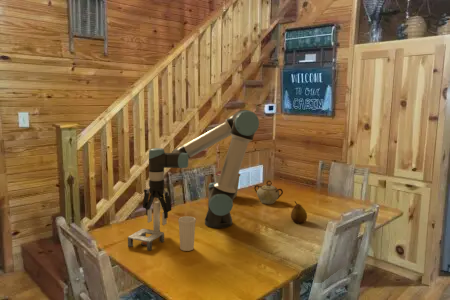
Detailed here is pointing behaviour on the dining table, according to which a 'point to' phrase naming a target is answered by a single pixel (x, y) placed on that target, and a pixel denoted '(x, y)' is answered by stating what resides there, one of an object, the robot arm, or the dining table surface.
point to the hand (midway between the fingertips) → (157, 222)
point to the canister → (235, 183)
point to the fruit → (298, 214)
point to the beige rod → (156, 216)
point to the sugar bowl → (268, 193)
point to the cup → (187, 232)
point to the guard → (142, 237)
